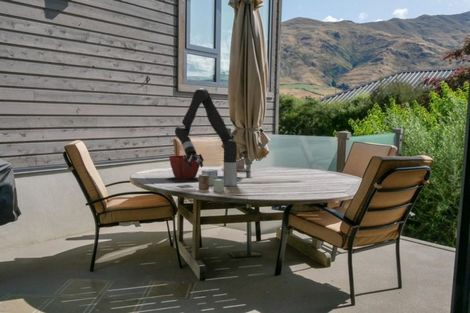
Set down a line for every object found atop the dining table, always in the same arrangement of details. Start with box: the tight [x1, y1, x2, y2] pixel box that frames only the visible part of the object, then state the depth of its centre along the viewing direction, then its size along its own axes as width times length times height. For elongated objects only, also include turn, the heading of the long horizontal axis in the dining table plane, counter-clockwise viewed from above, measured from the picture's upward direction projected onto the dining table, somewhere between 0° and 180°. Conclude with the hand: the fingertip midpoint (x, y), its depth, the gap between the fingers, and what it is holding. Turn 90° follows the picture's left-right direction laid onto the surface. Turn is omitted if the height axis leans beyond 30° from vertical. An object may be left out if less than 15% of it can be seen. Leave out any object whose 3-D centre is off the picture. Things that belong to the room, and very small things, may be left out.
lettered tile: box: [195, 188, 212, 192], centre depth 291 cm, size 9×9×1 cm
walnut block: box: [198, 174, 210, 192], centre depth 291 cm, size 5×5×10 cm
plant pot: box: [168, 154, 200, 180], centre depth 342 cm, size 19×19×17 cm
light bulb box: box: [201, 168, 219, 186], centre depth 314 cm, size 11×7×11 cm, turn 141°
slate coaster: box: [176, 184, 194, 189], centre depth 301 cm, size 9×9×1 cm
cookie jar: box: [221, 159, 247, 172], centre depth 397 cm, size 25×25×32 cm
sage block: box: [212, 178, 225, 193], centre depth 288 cm, size 5×5×8 cm
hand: (196, 166), depth 298 cm, fingers open, 8 cm apart
